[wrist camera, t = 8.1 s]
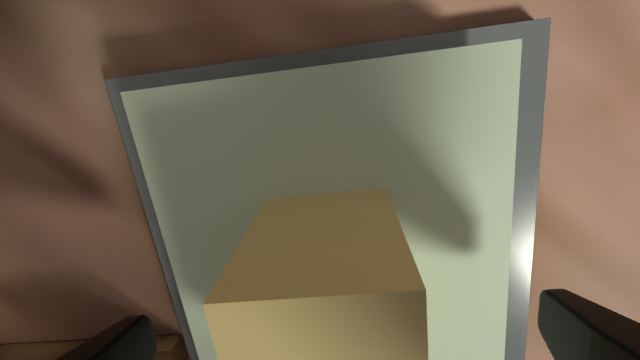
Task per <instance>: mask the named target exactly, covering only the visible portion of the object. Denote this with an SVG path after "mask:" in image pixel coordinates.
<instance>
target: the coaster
mask: <svg viewBox="0 0 640 360" xmlns="http://www.w3.org/2000/svg"><path fill="white" fill-rule="evenodd" d="M550 24H551V18H544V19H537V20H529V21H522V22H515V23H508V24H501V25H493V26H486V27H479V28H472V29H465V30H457V31H450V32H443V33H436V34H429V35H422V36H414V37H407V38H400V39H393V40H386V41H378V42H371V43H364V44H357V45H350V46H342V47H335V48H328V49H321V50H314V51H307V52H299V53H292V54H285V55H278V56H271V57H263V58H256V59H249V60H242V61H235V62H228V63H220V64H213V65H206V66H199V67H192V68H184V69H177V70H170V71H163V72H156V73H148V74H141V75H134V76H127V77H120V78H113V79H105V82H106V86H107V89H108V92H109V95H110V99H111V102H112V105H113V108H114V112H115V115H116V118H117V122H118V125H119V128H120V131H121V135H122V138H123V141H124V144H125V148H126V151H127V154H128V157H129V161H130V164H131V167H132V170H133V174H134V177H135V180H136V184H137V187H138V190H139V193H140V197H141V200H142V203H143V206H144V210H145V213H146V216H147V219H148V223H149V226H150V229H151V232H152V236H153V239H154V242H155V245H156V249H157V252H158V255H159V259H160V262H161V265H162V268H163V272H164V275H165V278H166V281H167V285H168V288H169V291H170V294H171V298H172V301H173V304H174V307H175V311H176V314H177V317H178V321H179V324H180V327H181V330H182V334H183V337H184V340H185V343H186V347H187V350H188V353H189V356H190V360H199V358H198V355H197V351H196V348H195V345H194V341H193V338H192V334H191V331H190V328H189V324H188V321H187V317H186V314H185V311H184V307H183V304H182V301H181V297H180V294H179V290H178V287H177V284H176V280H175V277H174V273H173V270H172V267H171V263H170V260H169V257H168V253H167V250H166V246H165V243H164V240H163V236H162V233H161V230H160V226H159V223H158V219H157V216H156V213H155V209H154V206H153V202H152V199H151V196H150V192H149V189H148V186H147V182H146V179H145V175H144V172H143V169H142V165H141V162H140V158H139V155H138V152H137V148H136V145H135V142H134V138H133V135H132V131H131V128H130V125H129V121H128V118H127V114H126V111H125V108H124V104H123V101H122V98H121V94H120V92H126V91H133V90H141V89H148V88H156V87H163V86H171V85H178V84H186V83H193V82H201V81H208V80H216V79H223V78H231V77H238V76H246V75H253V74H261V73H268V72H276V71H283V70H291V69H298V68H306V67H313V66H321V65H328V64H336V63H343V62H351V61H358V60H366V59H373V58H381V57H388V56H396V55H403V54H411V53H418V52H426V51H433V50H441V49H448V48H456V47H463V46H471V45H478V44H486V43H493V42H501V41H508V40H516V39H522V52H521V69H520V87H519V105H518V123H517V141H516V159H515V177H514V195H513V213H512V231H511V249H510V267H509V285H508V303H507V321H506V339H505V357H504V360H525V347H526V334H527V321H528V308H529V295H530V282H531V269H532V256H533V243H534V230H535V217H536V205H537V192H538V179H539V166H540V153H541V140H542V127H543V114H544V101H545V88H546V75H547V62H548V49H549V37H550Z"/></svg>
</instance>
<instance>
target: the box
mask: <svg viewBox="0 0 640 360" xmlns="http://www.w3.org/2000/svg"><path fill="white" fill-rule="evenodd" d="M155 337H156V340H157V351H156V354H155V357H154V359H153V360H189V359H188V355H187V352H186V349H185V346H184V342H183V339H182V336H181V334H178V335H160V336H155ZM85 341H87V340H72V341H54V342H36V343H19V344H1V345H0V360H55V359H57V358H58V357H60V356H62V355H63V354H65V353H67V352H68V351H70V350H72V349H73V348H75V347H77V346H79V345H80V344H82V343H84V342H85Z"/></svg>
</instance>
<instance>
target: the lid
mask: <svg viewBox="0 0 640 360" xmlns="http://www.w3.org/2000/svg"><path fill="white" fill-rule="evenodd" d="M521 52H522V39H516V40H508V41H501V42H493V43H486V44H478V45H471V46H463V47H456V48H448V49H441V50H433V51H426V52H418V53H411V54H403V55H396V56H388V57H381V58H373V59H366V60H358V61H351V62H343V63H336V64H328V65H321V66H313V67H306V68H298V69H291V70H283V71H276V72H268V73H261V74H253V75H246V76H238V77H231V78H223V79H216V80H208V81H201V82H193V83H186V84H178V85H171V86H163V87H156V88H148V89H141V90H133V91H126V92H120V94H121V98H122V101H123V104H124V108H125V111H126V114H127V118H128V121H129V125H130V128H131V131H132V135H133V138H134V142H135V145H136V148H137V152H138V155H139V158H140V162H141V165H142V169H143V172H144V175H145V179H146V182H147V186H148V189H149V192H150V196H151V199H152V202H153V206H154V209H155V213H156V216H157V219H158V223H159V226H160V230H161V233H162V236H163V240H164V243H165V246H166V250H167V253H168V257H169V260H170V263H171V267H172V270H173V273H174V277H175V280H176V284H177V287H178V290H179V294H180V297H181V301H182V304H183V307H184V311H185V314H186V317H187V321H188V324H189V328H190V331H191V334H192V338H193V341H194V345H195V348H196V351H197V355H198V358H199V360H504V357H505V339H506V321H507V303H508V285H509V267H510V249H511V231H512V213H513V195H514V177H515V159H516V141H517V123H518V105H519V87H520V69H521Z"/></svg>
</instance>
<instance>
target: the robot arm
mask: <svg viewBox="0 0 640 360" xmlns="http://www.w3.org/2000/svg"><path fill="white" fill-rule="evenodd" d="M538 327H539V330H540V333H541V335H542V337H543V339H544V341H545V342H546V344H547V346H548V348H549V350H550V352H551V354H552V356H553V358H554V359H555V360H640V323H638V322H636V321H634V320H632V319H629V318H627V317H625V316H623V315H621V314H618V313H616V312H614V311H612V310H610V309H607V308H605V307H603V306H601V305H598V304H596V303H594V302H592V301H590V300H587V299H585V298H583V297H581V296H579V295H576V294H574V293H572V292H570V291H568V290H565V289H547V290H543V291H542V292H541V294H540V300H539V311H538ZM156 351H157V340H156V337H155V334H154V331H153V328H152V325H151V322H150V319H149V318H148V316H146V315H132V316H128V317H126V318H124V319H122V320H121V321H119V322H117V323H116V324H114V325H112V326H111V327H109V328H107V329H105V330H104V331H102V332H100V333H99V334H97V335H95V336H94V337H92V338H90V339H89V340H87V341H85V342H84V343H82V344H80V345H79V346H77V347H75V348H73V349H72V350H70V351H68V352H67V353H65V354H63V355H62V356H60V357H58V358H57V359H55V360H153V359H154V357H155V354H156Z"/></svg>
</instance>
